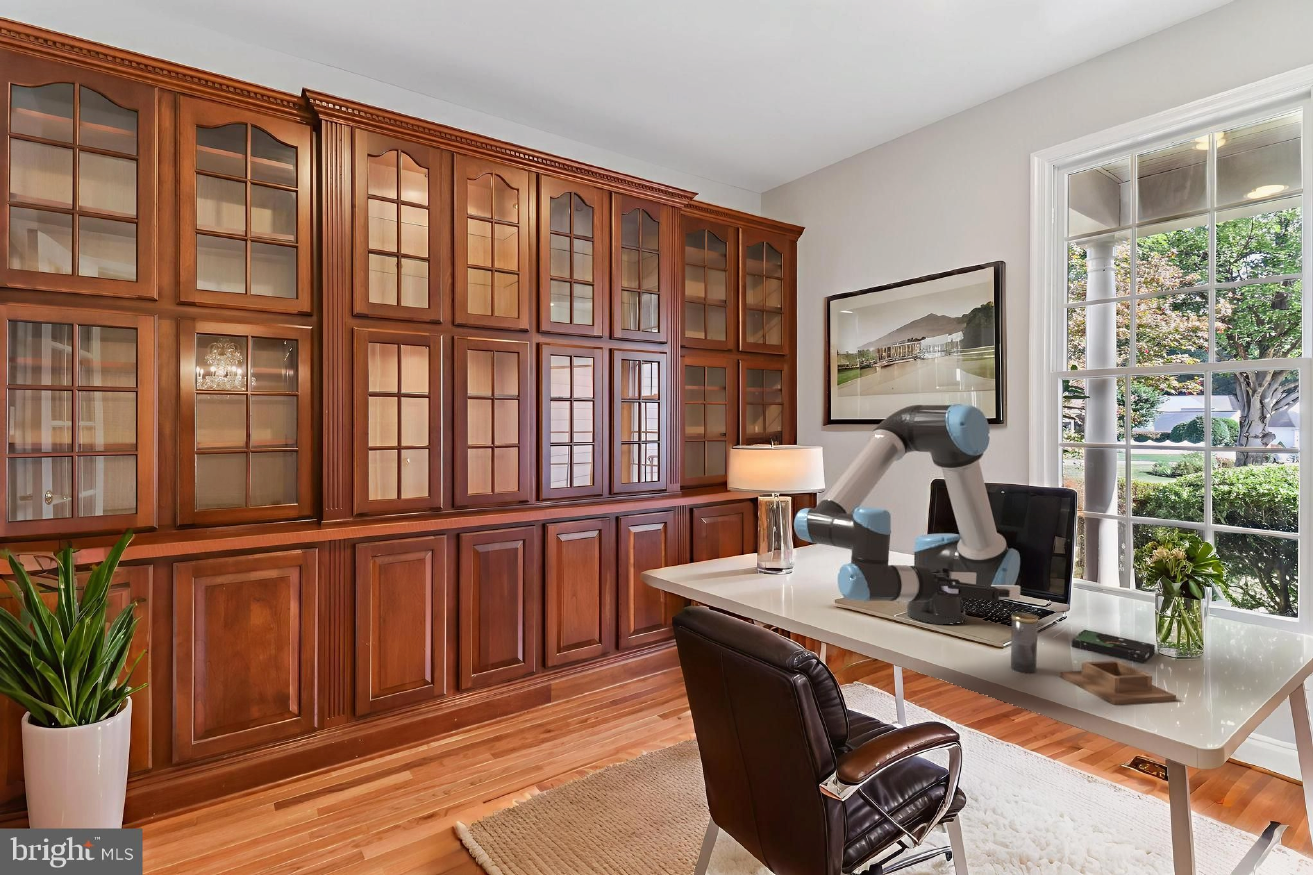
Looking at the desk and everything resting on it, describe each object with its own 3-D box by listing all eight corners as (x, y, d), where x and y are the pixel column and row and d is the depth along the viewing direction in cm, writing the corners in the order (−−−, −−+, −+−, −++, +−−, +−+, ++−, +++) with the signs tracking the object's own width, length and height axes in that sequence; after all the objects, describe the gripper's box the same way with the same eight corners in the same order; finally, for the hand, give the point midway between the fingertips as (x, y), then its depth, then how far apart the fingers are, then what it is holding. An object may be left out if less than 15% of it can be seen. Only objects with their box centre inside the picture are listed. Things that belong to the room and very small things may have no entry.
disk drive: (1154, 655, 159) (1083, 639, 170) (1155, 644, 159) (1084, 628, 170) (1144, 666, 152) (1070, 648, 163) (1145, 654, 152) (1071, 637, 163)
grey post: (1004, 665, 151) (1006, 612, 151) (1025, 664, 152) (1027, 611, 151) (1020, 674, 146) (1022, 620, 145) (1042, 672, 147) (1043, 619, 146)
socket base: (1060, 676, 145) (1060, 658, 145) (1117, 673, 147) (1117, 655, 147) (1113, 704, 131) (1114, 684, 131) (1175, 700, 133) (1176, 680, 133)
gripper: (877, 587, 155) (957, 589, 159) (945, 616, 130) (1038, 617, 135) (879, 555, 155) (959, 557, 159) (948, 578, 131) (1040, 580, 135)
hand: (996, 585), depth 147 cm, fingers open, 13 cm apart
